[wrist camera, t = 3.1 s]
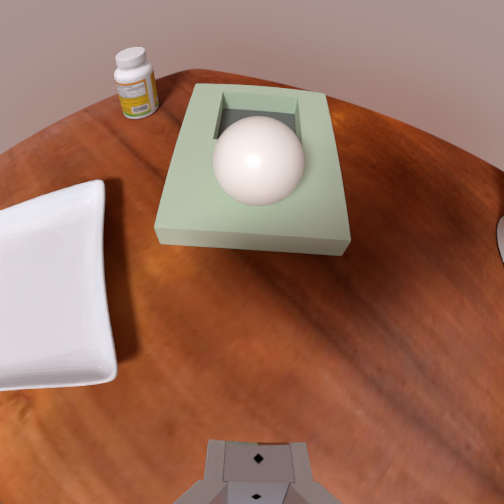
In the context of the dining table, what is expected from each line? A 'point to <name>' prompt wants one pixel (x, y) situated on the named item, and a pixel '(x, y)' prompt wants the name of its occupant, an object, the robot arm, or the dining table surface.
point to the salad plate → (55, 292)
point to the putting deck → (244, 216)
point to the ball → (258, 161)
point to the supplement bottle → (136, 83)
